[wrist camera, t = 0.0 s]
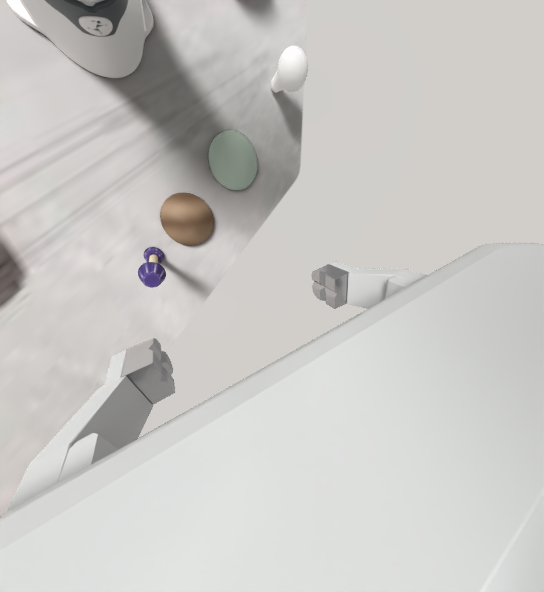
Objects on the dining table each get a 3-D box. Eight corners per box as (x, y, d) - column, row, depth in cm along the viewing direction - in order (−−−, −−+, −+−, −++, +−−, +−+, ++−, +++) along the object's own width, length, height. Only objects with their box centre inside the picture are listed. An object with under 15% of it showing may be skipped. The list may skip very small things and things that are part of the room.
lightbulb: (289, 89, 48) (319, 66, 39) (274, 111, 48) (300, 93, 40) (273, 59, 44) (302, 27, 35) (257, 83, 44) (281, 57, 36)
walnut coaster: (150, 198, 44) (150, 199, 43) (203, 188, 48) (204, 188, 47) (173, 250, 50) (174, 251, 49) (218, 237, 54) (219, 237, 53)
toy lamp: (161, 267, 51) (164, 293, 38) (140, 263, 48) (135, 290, 35) (165, 249, 49) (168, 269, 36) (142, 244, 47) (138, 264, 34)
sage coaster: (200, 134, 43) (201, 133, 42) (249, 128, 47) (251, 127, 46) (217, 194, 50) (218, 194, 49) (259, 185, 54) (261, 185, 53)
